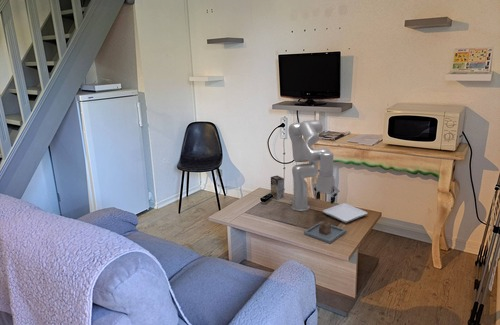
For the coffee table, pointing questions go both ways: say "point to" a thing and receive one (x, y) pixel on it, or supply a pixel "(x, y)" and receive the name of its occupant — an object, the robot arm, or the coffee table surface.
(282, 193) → the coffee box
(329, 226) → the walnut block
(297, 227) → the coffee table surface
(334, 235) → the slate dish
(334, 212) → the salad plate
